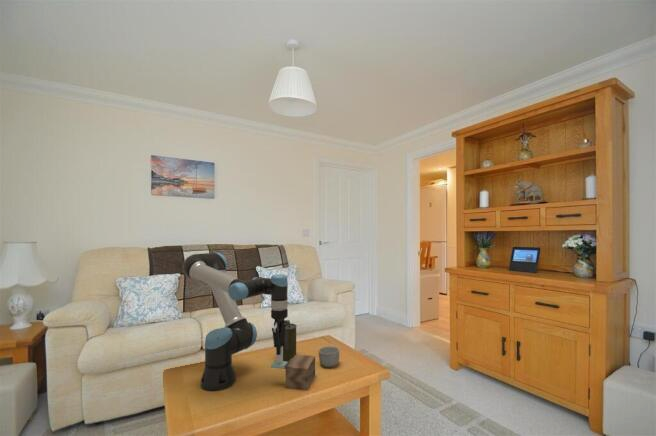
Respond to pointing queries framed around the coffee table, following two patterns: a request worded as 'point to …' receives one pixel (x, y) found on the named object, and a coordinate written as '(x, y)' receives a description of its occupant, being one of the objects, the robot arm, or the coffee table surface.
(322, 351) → the teacup
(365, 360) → the coffee table surface
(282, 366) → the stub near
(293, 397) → the coffee table surface
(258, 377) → the coffee table surface
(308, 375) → the block
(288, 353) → the canister
